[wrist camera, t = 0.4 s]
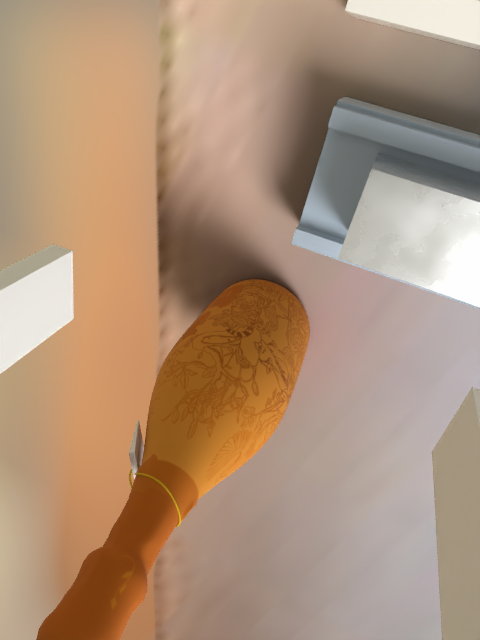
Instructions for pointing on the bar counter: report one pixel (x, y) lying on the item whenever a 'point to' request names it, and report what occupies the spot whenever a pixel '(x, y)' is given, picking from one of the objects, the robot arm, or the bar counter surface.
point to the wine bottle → (190, 443)
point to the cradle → (425, 18)
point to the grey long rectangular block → (418, 228)
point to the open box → (358, 158)
